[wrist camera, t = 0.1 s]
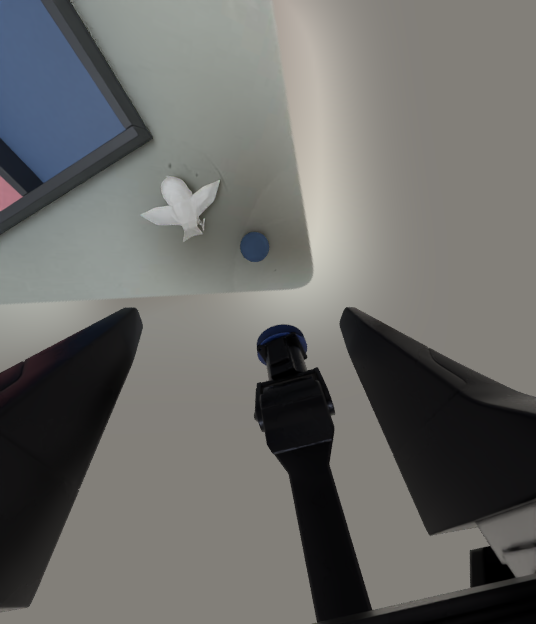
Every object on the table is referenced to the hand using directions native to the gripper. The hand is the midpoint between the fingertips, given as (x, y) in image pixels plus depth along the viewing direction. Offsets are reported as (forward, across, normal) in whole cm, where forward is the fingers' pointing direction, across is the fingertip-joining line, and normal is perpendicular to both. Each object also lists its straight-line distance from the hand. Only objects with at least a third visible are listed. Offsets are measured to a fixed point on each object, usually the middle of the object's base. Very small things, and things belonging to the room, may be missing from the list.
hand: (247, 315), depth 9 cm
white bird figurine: (+16, +5, -2) cm, 17 cm away
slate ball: (+14, -1, +2) cm, 14 cm away
